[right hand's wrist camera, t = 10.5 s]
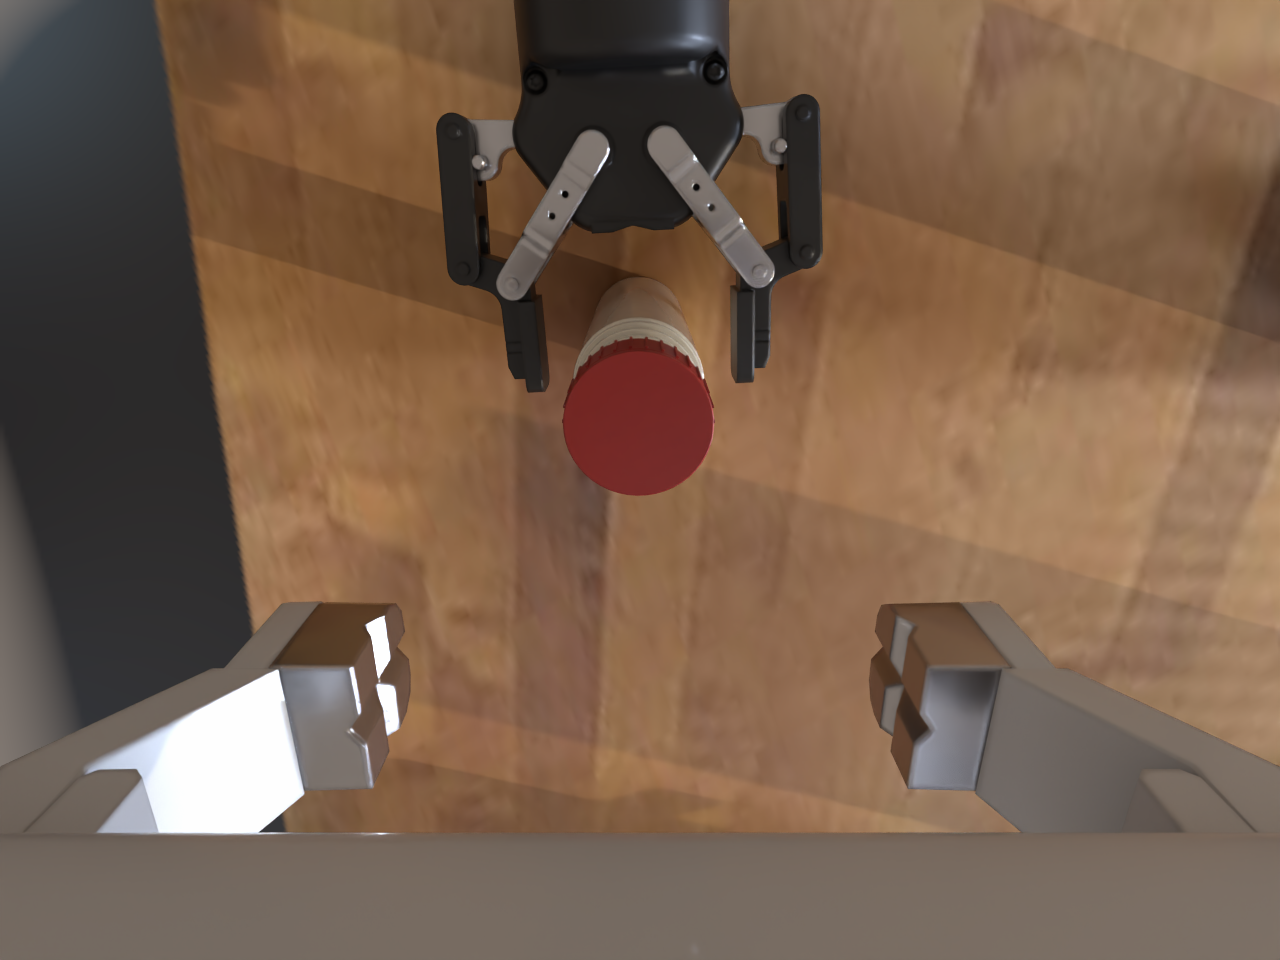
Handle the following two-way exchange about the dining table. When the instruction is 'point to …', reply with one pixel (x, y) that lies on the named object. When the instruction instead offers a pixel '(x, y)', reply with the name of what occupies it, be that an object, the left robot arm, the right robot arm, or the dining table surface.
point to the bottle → (638, 319)
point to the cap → (638, 417)
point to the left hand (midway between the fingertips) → (640, 383)
